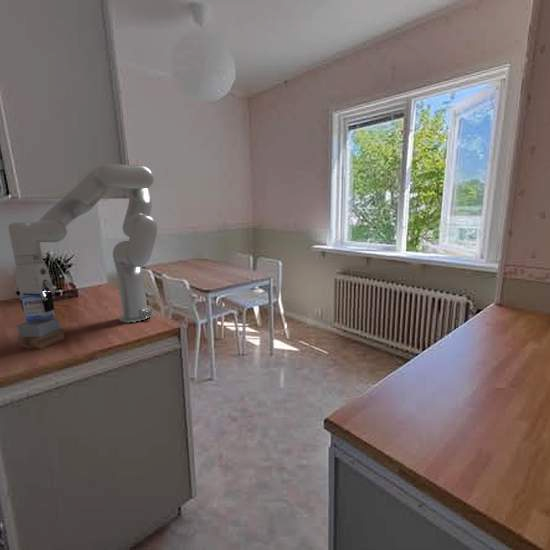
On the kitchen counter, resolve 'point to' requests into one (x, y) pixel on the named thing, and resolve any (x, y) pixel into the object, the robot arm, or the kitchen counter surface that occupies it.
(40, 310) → the medicine box
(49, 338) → the walnut slab
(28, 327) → the grey slab
